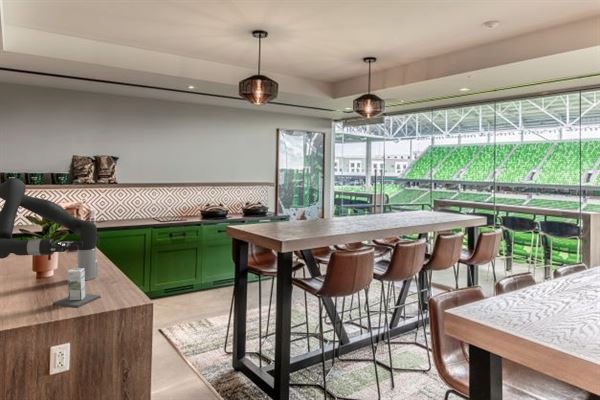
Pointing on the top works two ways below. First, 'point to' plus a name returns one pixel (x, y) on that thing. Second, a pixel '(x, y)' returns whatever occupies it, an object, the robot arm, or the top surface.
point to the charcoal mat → (77, 301)
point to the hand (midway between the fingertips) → (80, 245)
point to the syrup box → (76, 284)
